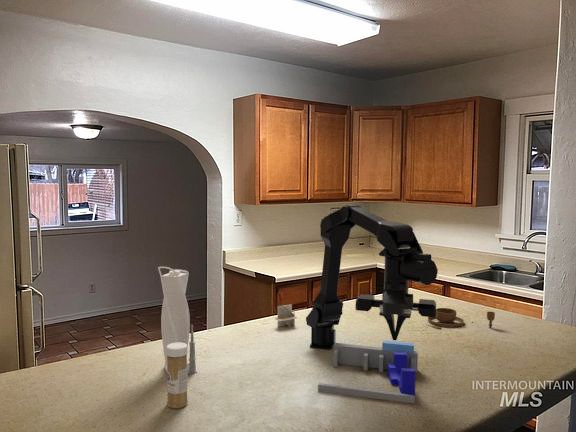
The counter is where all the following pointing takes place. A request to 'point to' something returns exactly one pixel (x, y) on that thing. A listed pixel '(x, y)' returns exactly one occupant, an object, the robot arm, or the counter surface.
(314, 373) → the counter surface
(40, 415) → the counter surface
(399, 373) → the cable clip
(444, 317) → the place setting
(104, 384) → the counter surface
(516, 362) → the counter surface
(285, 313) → the architectural model
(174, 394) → the sprinkles bottle
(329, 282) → the robot arm
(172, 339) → the skyscraper
